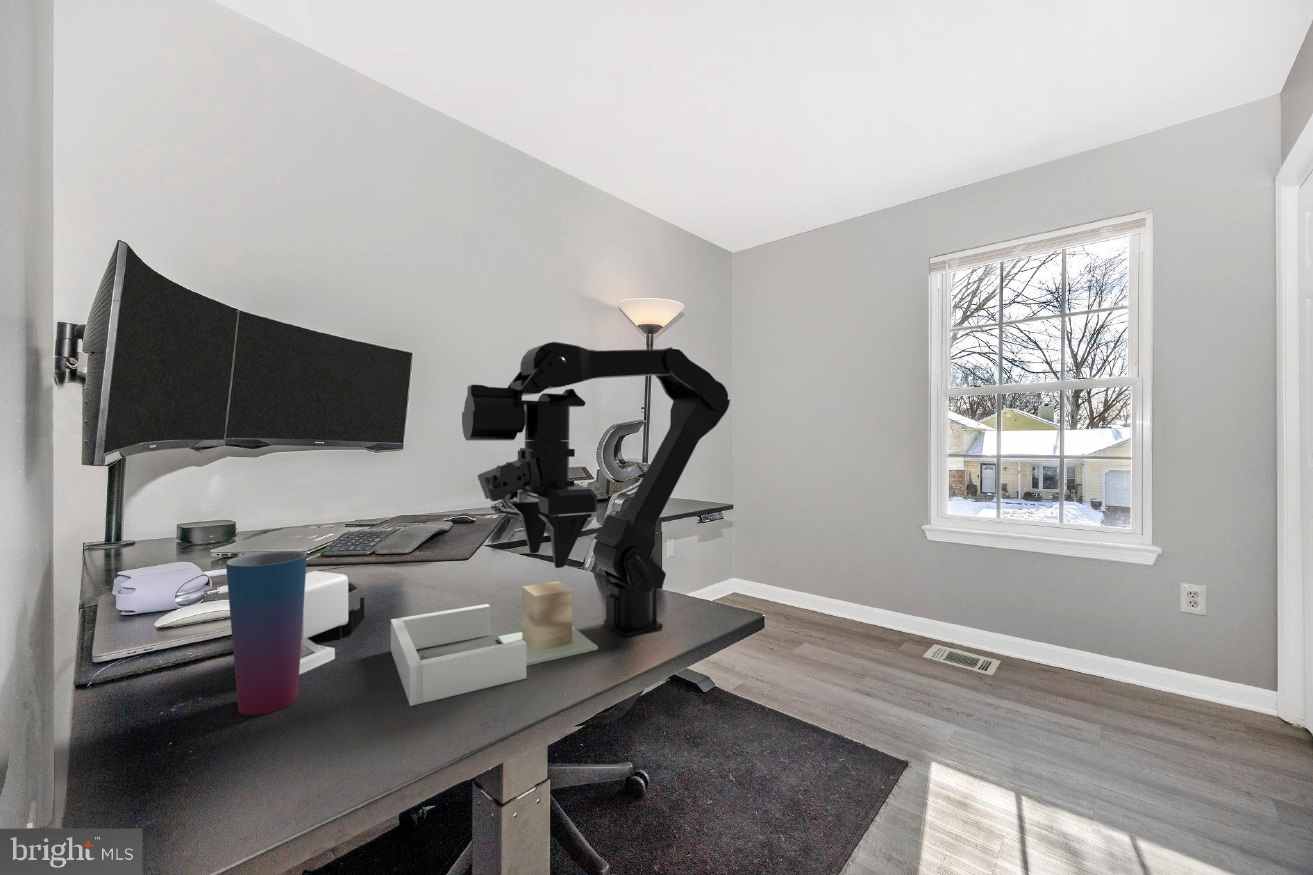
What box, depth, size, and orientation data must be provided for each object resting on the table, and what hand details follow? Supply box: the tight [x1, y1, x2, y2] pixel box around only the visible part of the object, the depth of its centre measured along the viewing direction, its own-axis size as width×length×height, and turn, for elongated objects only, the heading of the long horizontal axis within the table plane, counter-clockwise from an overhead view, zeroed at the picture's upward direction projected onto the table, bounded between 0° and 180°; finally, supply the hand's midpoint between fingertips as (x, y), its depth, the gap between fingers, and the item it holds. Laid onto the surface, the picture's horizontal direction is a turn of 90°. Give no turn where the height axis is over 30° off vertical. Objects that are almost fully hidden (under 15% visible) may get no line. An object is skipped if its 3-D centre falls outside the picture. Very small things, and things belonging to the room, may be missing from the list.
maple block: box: [521, 580, 573, 652], centre depth 73 cm, size 5×5×7 cm
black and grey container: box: [307, 581, 365, 642], centre depth 78 cm, size 10×6×10 cm
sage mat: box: [497, 626, 599, 667], centre depth 73 cm, size 10×10×1 cm
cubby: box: [390, 603, 527, 707], centre depth 67 cm, size 12×16×4 cm
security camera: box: [299, 570, 349, 676], centre depth 67 cm, size 6×7×10 cm
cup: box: [225, 550, 308, 716], centre depth 57 cm, size 7×7×15 cm
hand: (546, 559), depth 73 cm, fingers open, 9 cm apart
